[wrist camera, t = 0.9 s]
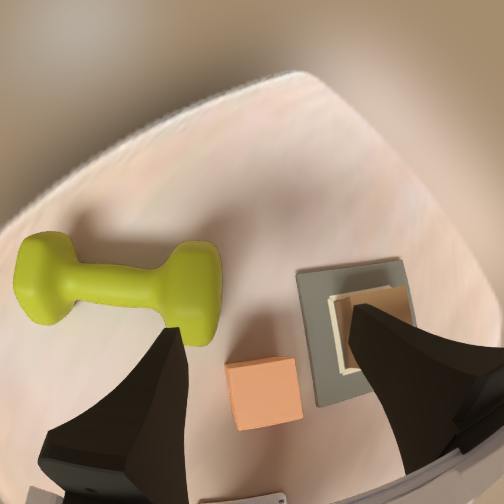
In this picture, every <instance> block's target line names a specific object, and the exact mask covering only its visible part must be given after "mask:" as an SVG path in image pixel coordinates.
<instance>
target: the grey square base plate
mask: <svg viewBox="0 0 504 504" xmlns="http://www.w3.org/2000/svg"><path fill="white" fill-rule="evenodd" d="M296 281H297V287H298V292H299V298H300V304H301V309H302V315H303V321H304V327H305V333H306V339H307V345H308V351H309V358H310V364H311V371H312V378H313V384H314V391H315V398H316V406H317V407H319V408H320V407H323V406H327V405H330V404H334V403H337V402H341V401H344V400H347V399H350V398H353V397H357V396H360V395H363V394H365V393H368V392H371V391H374V390H373V389H372V387H371V385H370V384H369V382H368V381H367V379H366V377H365V376H364V374H363V372H362V371H361V369H357V368H346V367H345V360H344V354H343V347H342V341H341V335H340V329H339V323H338V318H337V312H336V307H335V302H337V301H339V300H342V299H344V298H347V297H349V296H353V295H359V294H364V293H369V292H374V291H379V290H384V289H389V288H394V287H399V286H404V285H405V287H406V292H407V296H408V301H409V306H410V311H411V316H412V322H413V326H414V327H417V325H416V319H415V314H414V309H413V304H412V299H411V294H410V289H409V285H408V281H407V276H406V272H405V268H404V264H403V260H397V261H391V262H384V263H377V264H370V265H363V266H355V267H348V268H341V269H333V270H325V271H318V272H310V273H302V274H297V275H296Z"/></svg>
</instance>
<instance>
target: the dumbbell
mask: <svg viewBox="0 0 504 504" xmlns="http://www.w3.org/2000/svg"><path fill="white" fill-rule="evenodd" d="M13 289H14V293H15V296H16V298H17V300H18V302H19V304H20V305H21V307H22V309H23V310H24V312H25V313H26V315H27V316H28V317H29V318H30V319H31V320H32V321H33V322H35V323H37V324H41V325H54V324H56V323H58V322H59V321H61V320H62V319H63V318H64V317H65V316H66V315H68V314H69V312H70V311H71V310H72V308H73V306H74V304H75V301H76V300H82V301H87V302H91V303H96V304H103V305H109V306H119V307H131V308H149V309H153V310H155V311H157V312H158V313H160V315H161V316H162V317H163V319H164V322H165V325H166V328H172V327H179V328H180V332H181V337H182V341H183V345H185V346H195V347H202V346H206V345H208V344H209V343H210V342H211V340H212V339H213V337H214V335H215V332H216V329H217V326H218V322H219V317H220V312H221V301H222V267H221V260H220V255H219V252H218V250H217V248H216V246H215V245H214V244H212V243H211V242H207V241H185V242H182V243H180V244H179V245H178V246H177V247H176V248H175V249H174V250H173V252H172V253H171V255H170V256H169V258H168V259H167V261H166V262H165V263H164V264H163V265H162V266H160V267H158V268H155V269H143V268H137V267H130V266H124V265H116V264H85V263H80V262H78V258H77V255H76V252H75V249H74V246H73V243H72V241H71V239H70V238H69V236H68V235H66V234H65V233H62V232H55V231H46V232H40V233H36V234H33V235H31V236H29V237H27V238H25V239H24V240H23V242H22V244H21V246H20V248H19V252H18V256H17V261H16V266H15V271H14V277H13Z"/></svg>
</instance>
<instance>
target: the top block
mask: <svg viewBox="0 0 504 504" xmlns="http://www.w3.org/2000/svg"><path fill="white" fill-rule="evenodd" d="M224 365H225V371H226V378H227V384H228V390H229V396H230V402H231V408H232V414H233V417H234V420H235V423H236V425H237V428H238V431H242V430H249V429H255V428H260V427H266V426H271V425H276V424H281V423H285V422H290V421H294V420H298V419H302V418H303V413H302V406H301V399H300V392H299V385H298V379H297V372H296V366H295V359H294V358H290V357H281V356H276V357H270V358H264V359H258V360H251V361H244V362H237V363H230V364H224Z"/></svg>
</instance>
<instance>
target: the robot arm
mask: <svg viewBox="0 0 504 504" xmlns="http://www.w3.org/2000/svg"><path fill="white" fill-rule="evenodd" d="M348 344H349V347H350V349H351V352H352V354H353V356H354V359H355V361H356V363H357V364H358V366H359V368H360V369H361V371H362V372H363V374H364V376H365V377H366V379H367V381H368V382H369V384H370V385H371V387H372V389H373V390H374V392H375V393H376V395H377V397H378V399H379V400H380V402H381V404H382V406H383V408H384V411H385V413H386V415H387V418H388V420H389V422H390V425H391V427H392V430H393V433H394V435H395V438H396V441H397V444H398V447H399V451H400V454H401V457H402V461H403V465H404V469H405V474H406V476H404V477H402V478H400V479H397V480H395V481H393V482H391V483H388V484H386V485H383V486H381V487H378V488H376V489H373V490H370V491H368V492H365V493H362V494H359V495H356V496H353V497H350V498H347V499H344V500H341V501H337V502H334V503H331V504H472V503H473V502H474V501H475V500H476V499H477V498H479V497H480V496H481V495H483V494H484V493H485V492H486V491H488V490H489V489H490V488H491V487H492V486H494V485H495V484H496V483H497V482H498V481H500V480H501V479H502V478H503V477H504V348H499V347H484V346H476V345H470V344H465V343H461V342H456V341H452V340H449V339H445V338H442V337H439V336H437V335H434V334H431V333H428V332H426V331H423V330H421V329H419V328H417V327H414V326H412V325H410V324H408V323H406V322H404V321H402V320H400V319H398V318H396V317H394V316H392V315H390V314H388V313H386V312H384V311H382V310H380V309H378V308H376V307H374V306H372V305H370V304H367V303H364V304H358V305H354V307H353V314H352V320H351V327H350V333H349V339H348ZM188 388H189V375H188V362H187V358H186V354H185V350H184V345H183V341H182V337H181V332H180V328H179V327H172V328H164V329H163V330H162V332H161V333H160V335H159V336H158V337H157V339H156V340H155V342H154V343H153V344H152V346H151V347H150V349H149V350H148V351H147V353H146V354H145V355H144V357H143V358H142V359H141V361H140V362H139V363H138V364H137V365H136V367H135V368H134V369H133V370H132V371H131V372H130V374H129V375H128V376H127V377H126V378H125V379H124V380H123V381H122V382H121V383H120V384H119V385H118V386H117V387H116V388H115V389H114V390H113V391H112V392H110V393H109V394H108V395H107V396H105V397H104V398H103V399H102V400H100V401H99V402H98V403H97V404H95V405H94V406H93V407H91V408H90V409H88V410H87V411H85V412H84V413H82V414H80V415H79V416H77V417H75V418H74V419H72V420H70V421H68V422H66V423H64V424H62V425H60V426H58V427H56V428H54V429H52V430H49V431H48V433H47V435H46V438H45V441H44V443H43V446H42V449H41V452H40V455H39V458H38V465H39V467H40V468H41V470H42V471H43V472H44V473H45V474H46V475H47V476H48V477H49V478H50V479H51V480H52V481H54V482H55V483H56V484H57V485H58V486H60V487H61V488H62V489H63V490H64V491H65V496H64V498H63V497H61V496H59V495H56V494H54V493H51V492H48V491H45V490H42V489H39V488H36V487H34V486H30V488H29V491H28V495H27V499H26V503H25V504H189V500H188V492H187V483H186V471H185V455H184V428H185V417H186V407H187V398H188ZM279 500H283V501H281V502H279ZM202 504H287V499H286V495H285V494H284V493H283V492H278V493H274V494H269V495H264V496H258V497H253V498H247V499H240V500H233V501H224V502H215V503H202Z"/></svg>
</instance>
